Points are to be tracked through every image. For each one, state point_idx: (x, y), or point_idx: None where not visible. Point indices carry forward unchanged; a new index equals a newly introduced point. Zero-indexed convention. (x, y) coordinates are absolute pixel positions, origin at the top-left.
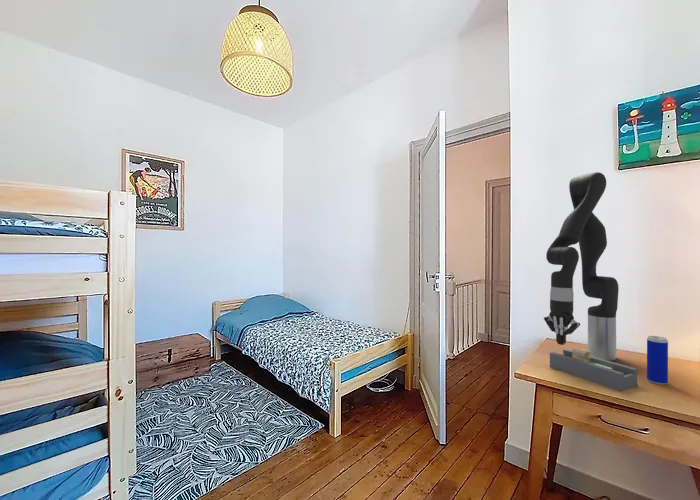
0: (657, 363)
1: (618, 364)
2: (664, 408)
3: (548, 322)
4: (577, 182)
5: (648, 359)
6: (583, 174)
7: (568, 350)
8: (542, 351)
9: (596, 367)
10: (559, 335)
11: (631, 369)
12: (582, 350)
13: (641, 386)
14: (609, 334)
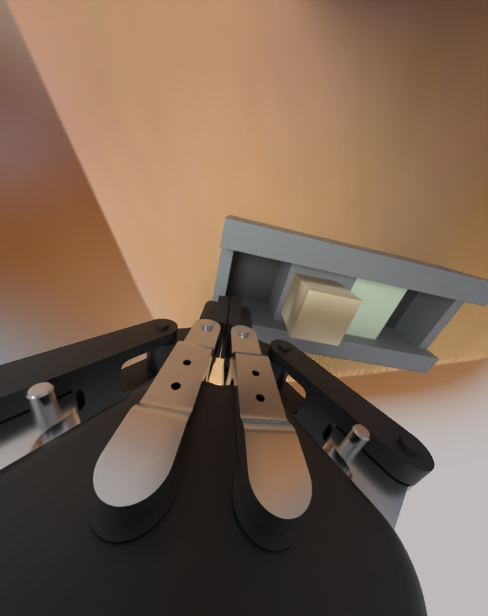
0: None
1: (443, 285)
2: (458, 361)
3: (85, 416)
4: None
5: None
6: None
7: (243, 240)
8: (72, 108)
9: (364, 361)
10: (221, 355)
11: (475, 303)
12: (328, 313)
13: (451, 265)
14: None
